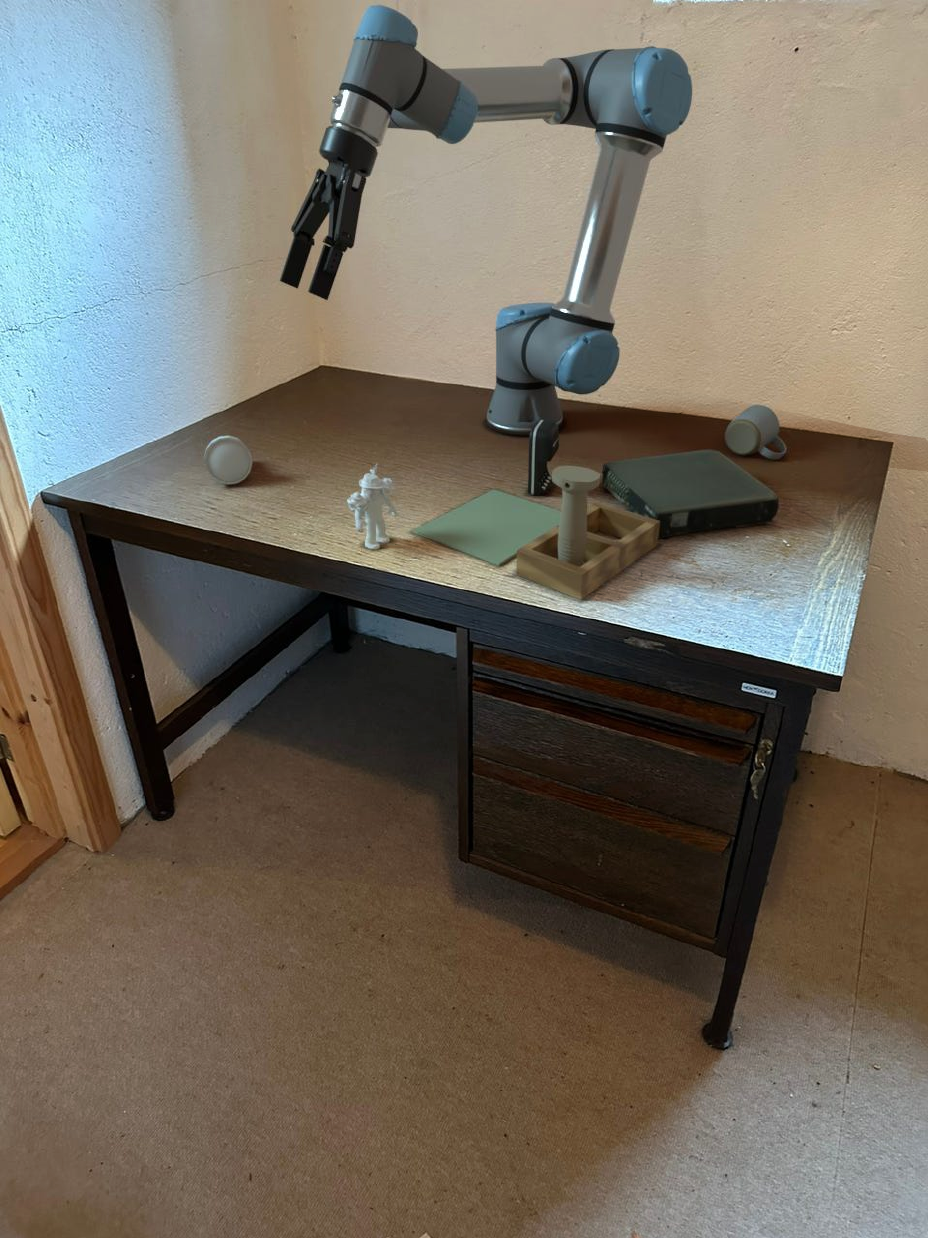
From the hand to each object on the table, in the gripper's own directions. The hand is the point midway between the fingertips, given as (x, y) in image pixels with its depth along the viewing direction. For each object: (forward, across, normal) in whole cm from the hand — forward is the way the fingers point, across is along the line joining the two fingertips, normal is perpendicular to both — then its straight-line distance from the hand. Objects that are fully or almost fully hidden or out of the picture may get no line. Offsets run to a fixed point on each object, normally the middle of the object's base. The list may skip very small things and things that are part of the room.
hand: (302, 290), depth 122 cm
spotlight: (+34, -24, +6) cm, 42 cm away
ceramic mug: (-5, +13, +86) cm, 87 cm away
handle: (+21, +35, +38) cm, 56 cm away
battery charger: (+14, +8, +48) cm, 50 cm away
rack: (+19, +33, +42) cm, 56 cm away
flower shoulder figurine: (+30, +13, +19) cm, 38 cm away
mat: (+21, +17, +35) cm, 45 cm away
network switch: (+8, +25, +63) cm, 68 cm away
